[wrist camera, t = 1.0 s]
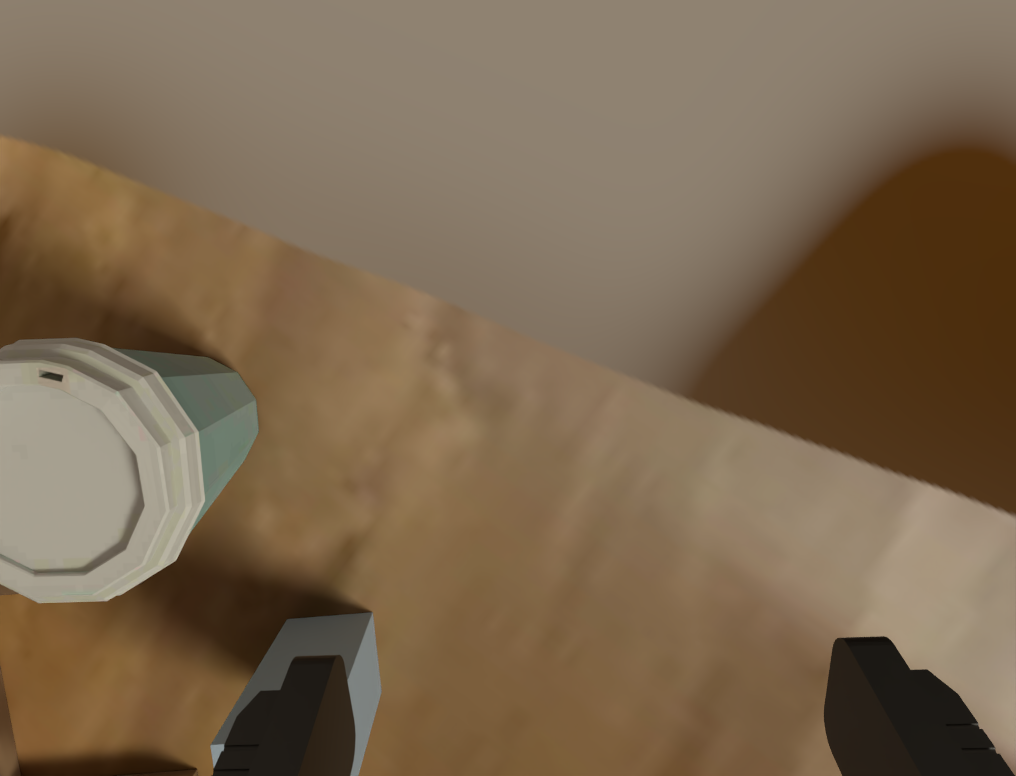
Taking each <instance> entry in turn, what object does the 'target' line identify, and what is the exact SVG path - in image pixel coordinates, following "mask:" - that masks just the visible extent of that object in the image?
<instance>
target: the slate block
mask: <svg viewBox="0 0 1016 776" xmlns="http://www.w3.org/2000/svg"><path fill="white" fill-rule="evenodd" d="M318 655H341V656H342V658H343V660H344V664H345V670H346V676H347V681H348V687H349V693H350V698H351V704H352V710H353V716H354V721H355V733H356V741H355V755H354V762H353V767H352V771H351V775H350V776H358V775H359V771H360V768H361V764H362V760H363V757H364V753H365V750H366V746H367V742H368V739H369V735H370V732H371V728H372V724H373V721H374V717H375V713H376V710H377V706H378V703H379V699H380V695H381V683H380V674H379V665H378V656H377V647H376V638H375V629H374V620H373V612H370V613H357V614H345V615H332V616H320V617H308V618H295V619H287V620H286V622H285V623H284V625H283V627H282V628H281V630H280V632H279V633H278V635H277V637H276V638H275V640H274V642H273V643H272V645H271V646H270V648H269V650H268V651H267V653H266V655H265V656H264V658H263V660H262V661H261V663H260V665H259V666H258V668H257V670H256V671H255V673H254V674H253V676H252V678H251V679H250V681H249V683H248V684H247V686H246V688H245V689H244V691H243V693H242V694H241V696H240V698H239V699H238V701H237V702H236V704H235V706H234V707H233V709H232V711H231V712H230V714H229V716H228V717H227V719H226V721H225V722H224V724H223V725H222V727H221V729H220V730H219V732H218V734H217V735H216V737H215V739H214V740H213V742H212V744H211V752H212V758H213V765H214V767H215V765H216V762H217V760H218V758H219V756H220V753H221V751H224V744H225V742H226V740H227V737H228V735H229V733H230V731H231V728H232V726H233V724H234V721H235V719H236V717H237V715H238V714H239V713H240V712H241V711H242V710H243V709H244V708H245V707H246V706H247V705H248V704H249V703H250V701H251V700H252V699H253V698H254V697H255V696H256V695H257V694H258V693H259V692H260V691H266V690H280V689H281V686H282V684H283V681H284V679H285V676H286V674H287V671H288V668H289V666H290V663H291V661H292V660H293V658H294V657H296V656H318Z"/></svg>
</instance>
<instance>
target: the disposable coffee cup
mask: <svg viewBox="0 0 1016 776" xmlns="http://www.w3.org/2000/svg"><path fill="white" fill-rule="evenodd" d="M258 432H259V429H258V417H257V406H256V399H255V398H254V396H253V395H252V393H251V392H250V390H249V389H248V387H247V386H246V384H245V383H244V381H243V380H242V378H241V377H240V375H239V374H238V372H236V371H234V370H232V369H230V368H228V367H226V366H224V365H222V364H220V363H218V362H216V361H215V360H213V359H211V358H209V357H202V356H191V355H181V354H170V353H160V352H149V351H139V350H128V349H118V348H111V347H109V346H107V345H105V344H101V343H97V342H92V341H88V340H84V339H79V338H57V339H29V340H18V341H16V342H15V343H13V344H10V345H6V346H4V347H2V348H1V349H0V584H1V585H3V586H5V587H7V588H9V589H11V590H13V591H15V592H17V593H19V594H21V595H23V596H25V597H27V598H29V599H31V600H33V601H35V602H38V603H58V602H93V601H108V600H110V599H111V598H113V597H114V596H118V595H122V594H123V593H125V592H126V591H128V590H130V589H131V588H133V587H134V586H136V585H138V584H139V583H141V582H142V581H144V580H146V579H147V578H149V577H150V576H152V575H154V574H155V573H157V572H159V571H160V570H162V569H163V568H165V567H167V566H168V565H170V564H171V563H173V562H175V561H176V560H177V558H178V556H179V554H180V552H181V549H182V547H183V545H184V543H185V541H186V539H187V537H188V535H189V534H190V532H191V531H192V530H193V528H194V527H195V526H196V524H197V523H198V522H199V520H200V519H201V518H202V516H203V515H204V514H205V512H206V511H207V510H208V508H209V507H210V506H211V504H212V503H213V502H214V500H215V499H216V498H217V496H218V495H219V494H220V492H221V491H222V490H223V488H224V487H225V486H226V484H227V483H228V482H229V480H230V479H231V478H232V476H233V475H234V474H235V472H236V471H237V470H238V468H239V467H240V466H241V464H242V463H243V462H244V460H245V459H246V456H247V454H248V452H249V450H250V448H251V446H252V444H253V442H254V440H255V438H256V436H257V434H258Z"/></svg>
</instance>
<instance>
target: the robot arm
mask: <svg viewBox="0 0 1016 776" xmlns="http://www.w3.org/2000/svg"><path fill="white" fill-rule="evenodd" d="M824 723H825V730H826V735H827V739H828V743H829V746H830V749H831V751H832V754H833V756H834V758H835V760H836V763H837V765H838V767H839V769H840V771H841V774H842V776H1015V775H1014V774H1013V772H1012V771H1011V770H1010V768H1009V767H1008V765H1007V764H1006V762H1005V761H1004V759H1003V758H1002V757H1001V755H1000V754H997V753H996V751H995V747H994V745H993V744H992V742H991V741H990V739H989V738H988V736H987V735H986V734H985V732H984V731H983V729H979V726H978V722H977V721H976V719H975V718H974V716H973V715H972V713H971V712H970V711H969V709H968V708H967V706H966V705H965V703H964V702H963V701H962V699H961V698H960V696H959V695H958V694H957V693H956V692H955V691H953V690H952V689H951V688H950V687H948V686H947V685H946V684H945V683H943V682H942V681H941V680H940V679H938V678H937V677H936V676H935V675H933V674H932V673H931V672H930V671H928V670H910V668H909V667H908V665H907V664H906V662H905V661H904V659H903V658H902V656H901V655H900V653H899V651H898V650H897V648H896V647H895V645H894V644H893V642H892V641H891V640H890V639H889V638H887V637H884V636H883V637H851V638H837V639H836V640H835V642H834V644H833V649H832V656H831V663H830V670H829V677H828V684H827V691H826V698H825V705H824ZM355 741H356V733H355V721H354V716H353V710H352V704H351V698H350V693H349V687H348V681H347V676H346V670H345V664H344V660H343V658H342V656H341V655H318V656H296V657H294V658H293V660H292V661H291V663H290V666H289V668H288V671H287V674H286V676H285V679H284V681H283V684H282V686H281V689H280V690H266V691H260V692H259V693H258V694H257V695H256V696H255V697H254V698H253V699H252V700H251V701H250V703H249V704H248V705H247V706H246V707H245V708H244V709H243V710H242V711H241V712H240V713H239V714H238V715H237V717H236V719H235V721H234V724H233V726H232V728H231V731H230V733H229V735H228V737H227V740H226V742H225V744H224V751H221V753H220V756H219V758H218V760H217V762H216V765H215V767H214V769H213V770H214V772H213V776H350V775H351V771H352V767H353V762H354V755H355Z"/></svg>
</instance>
